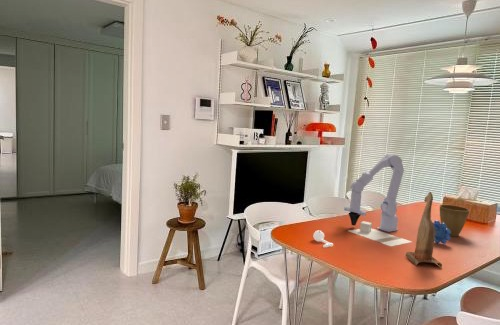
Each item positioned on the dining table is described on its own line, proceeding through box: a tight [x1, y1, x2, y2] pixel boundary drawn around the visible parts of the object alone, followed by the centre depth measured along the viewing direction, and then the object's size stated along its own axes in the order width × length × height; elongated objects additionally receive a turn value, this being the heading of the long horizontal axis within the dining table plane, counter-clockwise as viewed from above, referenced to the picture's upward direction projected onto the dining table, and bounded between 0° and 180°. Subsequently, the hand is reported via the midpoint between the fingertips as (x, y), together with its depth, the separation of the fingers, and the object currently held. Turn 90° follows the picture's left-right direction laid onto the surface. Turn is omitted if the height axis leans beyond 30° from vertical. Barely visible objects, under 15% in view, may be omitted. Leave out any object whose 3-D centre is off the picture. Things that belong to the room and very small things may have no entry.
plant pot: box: [439, 204, 470, 237], centre depth 202 cm, size 15×15×16 cm
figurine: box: [312, 229, 334, 248], centre depth 174 cm, size 8×6×12 cm
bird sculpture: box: [405, 191, 443, 268], centre depth 154 cm, size 11×12×32 cm
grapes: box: [432, 219, 452, 245], centre depth 184 cm, size 12×7×12 cm, turn 57°
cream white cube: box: [359, 220, 373, 233], centre depth 198 cm, size 5×5×5 cm
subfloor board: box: [348, 227, 412, 247], centre depth 191 cm, size 18×28×1 cm, turn 32°
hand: (353, 225), depth 206 cm, fingers closed
